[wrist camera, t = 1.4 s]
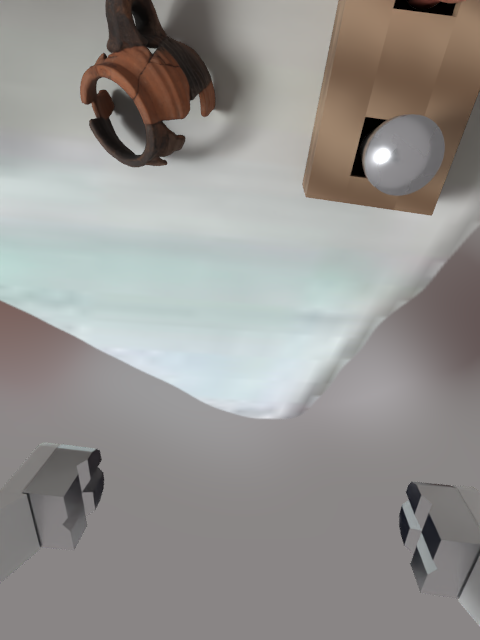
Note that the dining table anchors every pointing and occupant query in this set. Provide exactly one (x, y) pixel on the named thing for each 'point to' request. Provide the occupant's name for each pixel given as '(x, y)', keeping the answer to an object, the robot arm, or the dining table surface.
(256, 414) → the dining table surface
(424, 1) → the red plug
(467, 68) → the walnut plug panel
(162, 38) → the pottery mug
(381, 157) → the steel plug
